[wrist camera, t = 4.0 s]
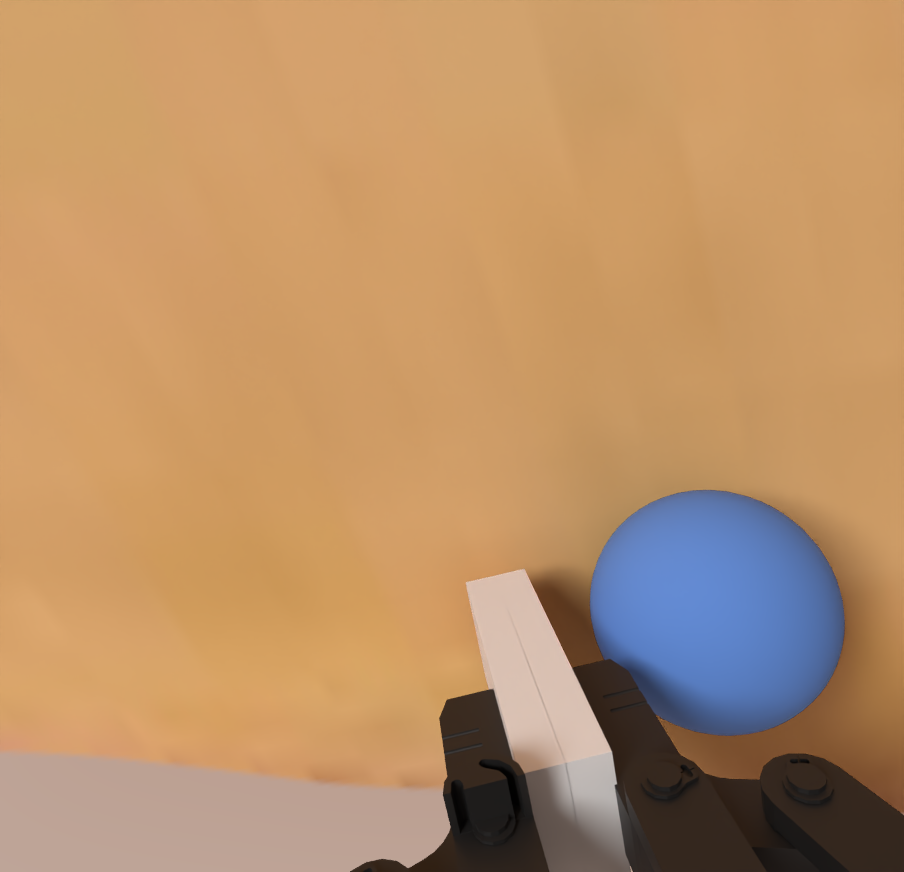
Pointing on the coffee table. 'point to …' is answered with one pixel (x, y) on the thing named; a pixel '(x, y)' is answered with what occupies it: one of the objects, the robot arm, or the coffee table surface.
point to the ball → (718, 611)
